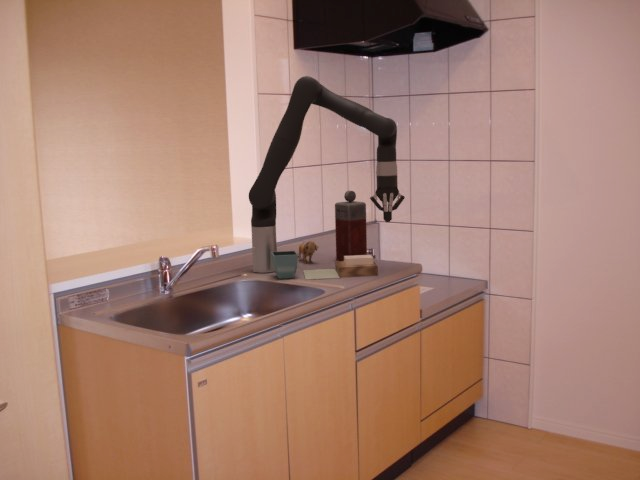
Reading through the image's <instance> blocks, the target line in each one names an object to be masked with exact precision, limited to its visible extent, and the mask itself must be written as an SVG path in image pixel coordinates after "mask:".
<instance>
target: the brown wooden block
mask: <svg viewBox="0 0 640 480" xmlns="http://www.w3.org/2000/svg"><path fill="white" fill-rule="evenodd" d="M334 264H335V265H334V266H335V267H334V269H335V270H336V272H337V274H338V276H339V277H340V278H348V277H349V278H350V277H371V276H379V272H378V267H379V266H378V265H377V264H376V262H375V261H374V260H373V264H371V265H349V266H346V265H345V263H344V261H336V260H335V261H334Z"/></svg>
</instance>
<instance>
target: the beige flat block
mask: <svg viewBox="0 0 640 480" xmlns="http://www.w3.org/2000/svg"><path fill="white" fill-rule="evenodd" d="M373 261H374V257H373V255H372V254H367V255H353V256H344V263H345V265H346V266H349V265H371V264H373Z"/></svg>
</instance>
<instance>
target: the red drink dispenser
mask: <svg viewBox="0 0 640 480" xmlns="http://www.w3.org/2000/svg"><path fill="white" fill-rule="evenodd" d="M356 198H357V194H356V192H355V191H353V190H347V191H345V192H344V199H345V201H340V202H339V201H338V202H336V203H335V204H334V221H335V222H334V224H335V227H334V228H335V255H336V256H335V259H336V260H335V261H344V256H353V255H368V245H367V243H368V242H367V239H368V238H367V236H368V235H367V204H366V202H364V201H356Z"/></svg>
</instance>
